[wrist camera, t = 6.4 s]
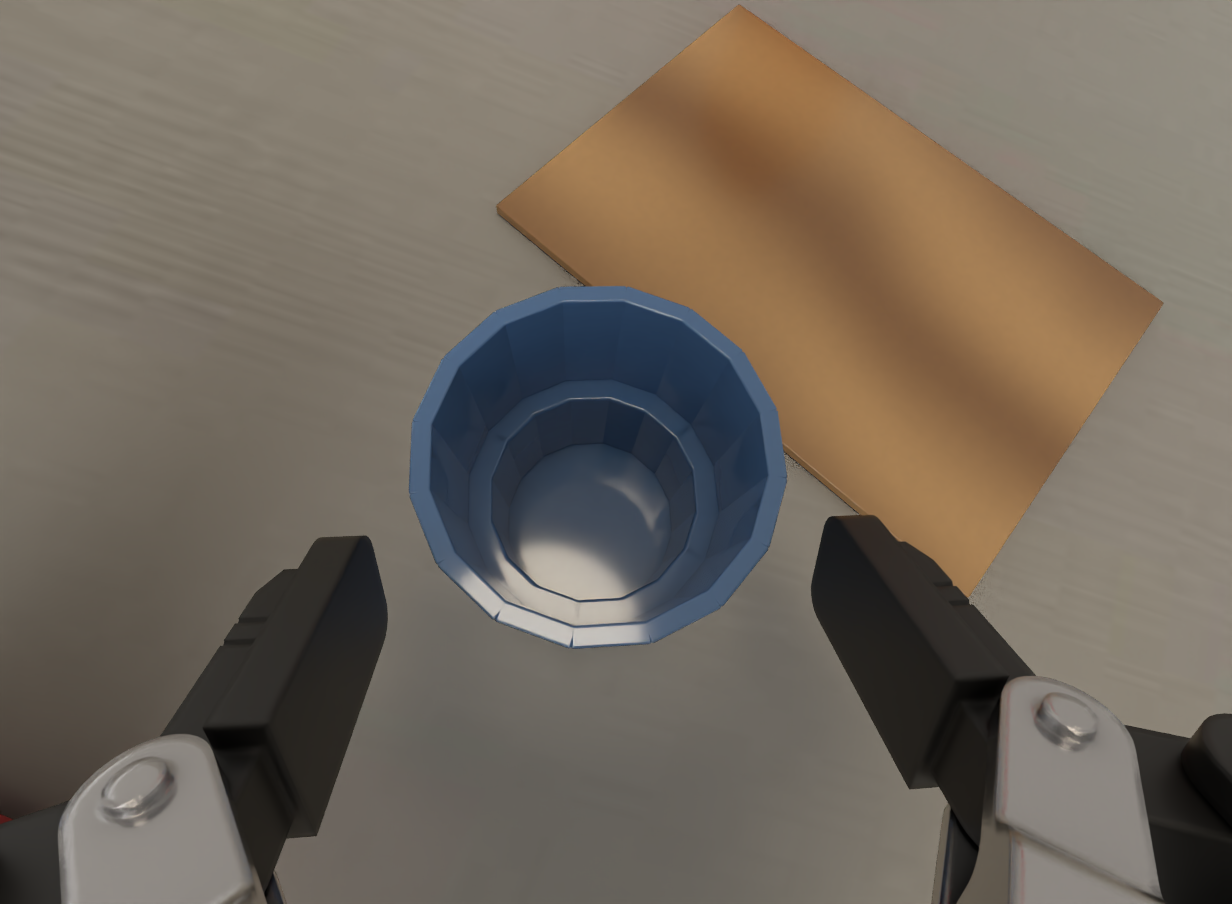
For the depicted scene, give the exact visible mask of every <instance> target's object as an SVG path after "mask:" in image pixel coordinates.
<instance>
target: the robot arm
mask: <svg viewBox="0 0 1232 904" xmlns="http://www.w3.org/2000/svg"><path fill="white" fill-rule="evenodd" d="M811 596H812V603H813V607H814V611H815V613H816V616H817V618H818V620H819V622H820V624H821V626H822V627H823V629H824V631H825V633H826V635H827V637H828V639H829V641H830V642H831V644H832V646H833V648H834V650H835V652H836V654H837V655H838V657H839V659H840V661H841V663H842V665H843V667H844V669H845V670H846V672H847V674H848V676H849V678H850V680H851V682H852V683H853V685H854V687H855V689H856V691H857V693H858V695H859V697H860V698H861V700H862V702H863V704H864V706H865V708H866V710H867V712H868V713H869V715H870V717H871V719H872V721H873V723H874V725H875V726H876V728H877V730H878V732H879V734H880V736H881V738H882V740H883V741H884V743H885V745H886V747H887V749H888V751H889V753H890V754H891V756H892V758H893V760H894V762H895V764H896V766H897V768H898V769H899V771H900V773H901V775H902V777H903V779H904V781H905V782H906V784H907V786H908V788H909V789H920V788H932V787H939V788H940V789H941V791H942V793H943V794H944V796H945V798H946V800H947V801H948V803H947V806H946V808H945V810H944V813H943V817H942V824H941V831H940V839H939V847H938V854H937V862H936V870H935V877H934V885H933V893H932V900H931V904H1232V714H1216V715H1213V716H1210V717H1208V718H1207V719H1206V720H1204V722H1203V723H1202V724H1201V726H1200V727H1199V728H1198V730H1197V731H1196V732H1195V733H1194V735H1193V736H1192V737H1191V738H1186V737H1181V736H1176V735H1171V734H1166V733H1161V732H1157V731H1152V730H1147V729H1142V728H1137V727H1132V726H1127V725H1123V723H1122V722H1121V721H1120V720H1119V719H1118V718H1117V717H1116V716H1115V715H1114V714H1113V713H1112V712H1111V711H1110V710H1109V709H1108V708H1106V707H1105V706H1104V705H1103V704H1101V703H1100V702H1099V701H1097V700H1096V699H1094V698H1093V697H1091V696H1090V695H1088V694H1086V693H1085V692H1083V691H1081V690H1079V689H1077V688H1075V687H1073V686H1071V685H1068V684H1066V683H1064V682H1061V681H1057V680H1054V679H1051V678H1046V677H1040V676H1036V675H1035V674H1034V673H1033V672H1032V671H1031V669H1030V668H1029V667H1028V666H1027V665H1026V664H1025V663H1024V662H1023V660H1022V659H1021V658H1020V657H1019V656H1018V655H1017V654H1016V652H1015V651H1014V650H1013V649H1012V648H1011V647H1010V646H1009V645H1008V643H1007V642H1006V641H1005V640H1004V639H1003V638H1002V637H1001V635H1000V634H999V633H998V632H997V631H996V630H995V629H994V628H993V626H992V625H991V624H990V623H989V622H988V621H987V620H986V619H985V617H984V616H983V615H982V614H981V613H980V612H979V611H978V609H977V608H976V607H975V606H974V605H970V604H969V599H968V598H967V597H966V596H965V595H964V594H963V592H962V591H961V590H960V589H959V588H958V587H957V586H953V581H952V580H951V579H950V578H949V577H948V575H947V574H946V573H945V572H944V571H943V570H942V569H941V568H940V566H939V565H938V564H937V563H936V562H935V561H934V560H933V559H932V558H930V557H929V556H927V555H926V554H924V553H923V552H921V551H920V550H918V549H917V548H915V547H914V546H912V545H911V544H909V543H907V542H906V541H902V542H898V541H897V540H896V538H895V537H894V536H893V535H892V534H891V532H890V531H889V530H888V529H887V528H886V526H885V525H884V524H883V523H882V522H881V520H880V519H879V518H878V517H876V516H875V515H852V516H832V517H829V518H828V519H827V521H826V523H825V525H824V529H823V533H822V538H821V542H820V547H819V551H818V556H817V560H816V565H815V569H814V574H813V578H812V584H811ZM387 621H388V612H387V603H386V599H385V595H384V591H383V586H382V582H381V578H380V574H379V570H378V566H377V562H376V558H375V553H374V549H373V546H372V543H371V540H370V539H369V537H367V536H343V537H321V538H318V539H317V540H316V541H315V542H314V543H313V545H312V546H311V548H310V550H309V551H308V553H307V555H306V556H305V558H304V560H303V561H302V563H301V565H300V566H299V568H298V569H287V570H283V571H282V572H280V573H279V574H278V575H277V576H275V577H274V578H273V579H272V580H270V581H269V582H268V583H267V584H266V585H264V586H263V587H262V588H261V589H259V590H258V591H257V592H256V593H255V594H254V596H253V597H252V599H251V600H250V602H249V603H248V605H247V606H246V608H245V609H244V611H243V612H242V614H241V615H240V617H239V622H238V623H236V624H234V626H233V627H232V629H231V630H230V632H229V633H228V635H227V636H226V638H225V639H224V645H223V646H220V647H219V648H218V650H217V651H216V653H215V654H214V656H213V657H212V659H211V660H210V662H209V663H208V665H207V666H206V668H205V670H204V671H203V673H202V674H201V676H200V677H199V679H198V680H197V682H196V683H195V685H194V686H193V688H192V689H191V691H190V692H189V694H188V695H187V697H186V698H185V700H184V701H183V703H182V704H181V706H180V707H179V709H178V710H177V712H176V713H175V715H174V716H173V718H172V719H171V721H170V722H169V724H168V725H167V727H166V728H165V730H164V731H163V733H162V734H161V735H160V737H158V738H154V739H152V740H149V741H146V742H143V743H141V744H139V745H137V746H134V747H132V748H130V749H129V750H127V751H125V752H123V753H121V754H120V755H118V756H117V757H115V758H114V759H112V760H111V761H109V762H108V763H106V764H105V765H104V766H102V767H101V768H100V769H99V770H97V771H96V772H95V773H94V774H93V775H92V776H91V777H90V778H89V779H88V780H87V781H86V782H85V783H84V784H83V785H82V786H81V787H80V788H79V789H78V791H77V792H76V793H75V794H74V796H73V797H72V798H71V800H70V801H67V802H64V803H62V804H59V805H56V806H53V807H50V808H47V809H44V810H41V811H38V812H35V813H32V814H29V815H26V816H23V817H20V818H17V819H14V820H11V821H8V822H5V823H2V824H0V904H287V902H286V899H285V896H284V893H283V890H282V887H281V885H280V882H279V879H278V876H277V874H276V872H275V870H274V868H275V866H276V863H277V861H278V858H279V856H280V853H281V850H282V848H283V845H284V843H285V840H286V839H287V838H299V837H311V836H317V833H318V831H319V828H320V825H321V822H322V819H323V816H324V813H325V810H326V807H327V805H328V802H329V799H330V796H331V793H332V790H333V787H334V784H335V782H336V779H337V776H338V773H339V770H340V767H341V764H342V761H343V758H344V756H345V753H346V750H347V747H348V744H349V741H350V738H351V735H352V733H353V730H354V727H355V724H356V721H357V718H358V715H359V712H360V710H361V707H362V704H363V701H364V698H365V695H366V692H367V689H368V686H369V684H370V681H371V678H372V675H373V672H374V669H375V666H376V663H377V661H378V658H379V655H380V652H381V649H382V646H383V643H384V640H385V636H386V631H387Z"/></svg>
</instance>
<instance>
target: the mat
mask: <svg viewBox="0 0 1232 904" xmlns="http://www.w3.org/2000/svg"><path fill="white" fill-rule="evenodd" d="M496 208H497V213H498V214H499V215H501V216H502V217H503V218H504V219H505V220H507V221H508V222H509V223H510V224H511V225H513V226H514V227H515V228H516V229H517V230H519V231H520V232H521V233H522V234H523V235H525V236H526V237H527V238H528V239H530V240H531V241H532V242H533V243H534V244H536V245H537V246H538V247H539V248H540V249H542V250H543V251H544V252H545V253H546V254H548V255H549V256H550V257H551V258H552V259H554V260H555V261H556V262H557V263H558V264H560V265H561V266H562V267H563V268H564V269H566V270H567V271H568V272H569V273H570V274H572V275H573V276H574V277H575V278H576V279H578V280H579V281H580V282H581V283H582V284H584V285H585V286H626V287H631V288H634V289H637V290H640V291H643V292H646V293H649V294H652V295H655V296H658V297H660V298H663V299H666V300H669V301H672V302H675V303H678V304H681V305H684V306H687V307H689V308H690V309H693V310H694V311H695V312H696V313H698V314H699V315H700V316H701V317H702V318H704V319H705V320H706V321H707V322H709V323H710V324H711V325H712V326H714V327H715V328H716V329H717V330H718V331H720V332H721V333H722V334H723V335H725V336H726V337H727V338H728V339H730V340H731V341H732V342H733V343H735V344H736V345H737V346H738V347H739V348H741V349H742V352H744V353H745V354H746V356H747V358H748V360H749V361H750V363H751V365H752V366H753V368H754V370H755V372H756V373H757V375H758V377H759V378H760V380H761V382H762V384H763V385H764V387H765V389H766V391H767V392H768V394H769V396H770V397H771V399H772V401H773V403H774V404H775V406H776V408H777V411H778V416H779V423H780V430H781V437H782V444H783V451H785V452H786V453H787V454H788V455H789V456H791V457H792V458H793V459H794V460H795V461H797V462H798V463H799V464H800V465H801V466H803V467H804V468H805V469H806V470H808V471H809V472H810V473H811V474H812V475H814V476H815V477H816V478H817V479H818V480H820V481H821V482H822V483H823V484H824V485H826V486H827V487H828V488H829V489H830V490H832V491H833V492H834V493H835V494H836V495H838V496H839V497H840V498H841V499H842V500H844V501H845V502H846V503H847V504H848V505H850V506H851V507H852V508H853V509H854V510H856V511H857V512H858V513H859V514H860V515H875V516H876V517H878V518H879V519H880V520H881V522H882V523H883V524H884V525H885V526H886V528H887V529H888V530H889V531H890V532H891V534H892V535H893V536H894V537H895V538H896V540H897V541H898V542H902V541H906V542H907V543H909V544H911V545H912V546H914V547H915V548H917V549H918V550H920V551H921V552H923V553H924V554H926V555H927V556H929V557H930V558H932V559H933V560H934V561H935V562H936V563H937V564H938V565H939V566H940V568H941V569H942V570H943V571H944V572H945V573H946V574H947V575H948V577H949V578H950V579H951V580H952V581H953V586H957V587H958V588H959V589H960V590H961V591H962V592H963V594H964V595H965V596H966V597H969V596H970V594H971V593H972V591H973V590H974V588H975V587H976V585H977V584H978V582H979V581H980V579H981V578H982V576H983V575H984V573H985V572H986V570H987V569H988V567H989V566H990V564H991V563H992V561H993V560H994V558H995V557H996V555H997V554H998V552H999V551H1000V549H1001V548H1002V546H1003V545H1004V543H1005V542H1006V540H1007V539H1008V537H1009V536H1010V534H1011V533H1012V531H1013V530H1014V528H1015V527H1016V525H1017V524H1018V522H1019V521H1020V519H1021V518H1022V516H1023V515H1024V513H1025V512H1026V510H1027V509H1028V507H1029V506H1030V504H1031V503H1032V501H1033V499H1034V498H1035V496H1036V495H1037V493H1038V492H1039V490H1040V489H1041V487H1042V486H1043V484H1044V483H1045V481H1046V480H1047V478H1048V477H1049V475H1050V474H1051V472H1052V471H1053V469H1054V468H1055V466H1056V465H1057V463H1058V462H1059V460H1060V459H1061V457H1062V456H1063V454H1064V453H1065V451H1066V450H1067V448H1068V447H1069V445H1070V444H1071V442H1072V441H1073V439H1074V438H1075V436H1076V435H1077V433H1078V432H1079V430H1080V429H1081V427H1082V426H1083V424H1084V423H1085V421H1086V420H1087V418H1088V417H1089V415H1090V414H1091V412H1092V411H1093V409H1094V408H1095V406H1096V405H1097V403H1098V401H1099V400H1100V398H1101V397H1102V395H1103V394H1104V392H1105V391H1106V389H1107V388H1108V386H1109V385H1110V383H1111V382H1112V380H1113V379H1114V377H1115V376H1116V374H1117V373H1118V371H1119V370H1120V368H1121V367H1122V365H1123V364H1124V362H1125V361H1126V359H1127V358H1128V356H1129V355H1130V353H1131V352H1132V350H1133V349H1134V347H1135V346H1136V344H1137V343H1138V341H1139V340H1140V338H1141V337H1142V335H1143V334H1144V332H1145V331H1146V329H1147V328H1148V326H1149V325H1150V323H1151V322H1152V320H1153V319H1154V317H1155V316H1156V314H1157V313H1158V311H1159V310H1160V308H1161V306H1162V305H1163V302H1162V301H1161V300H1159V299H1158V298H1156V297H1155V296H1154V295H1152V294H1151V293H1149V292H1148V291H1146V290H1145V289H1144V288H1142V287H1141V286H1139V285H1138V284H1136V283H1135V282H1134V281H1132V280H1131V279H1129V278H1128V277H1126V276H1125V275H1124V274H1122V273H1121V272H1119V271H1118V270H1117V269H1115V268H1114V267H1112V266H1111V265H1109V264H1108V263H1107V262H1105V261H1104V260H1102V259H1101V258H1099V257H1098V256H1097V255H1095V254H1094V253H1092V252H1091V251H1089V250H1088V249H1087V248H1085V247H1084V246H1082V245H1081V244H1080V243H1078V242H1077V241H1075V240H1074V239H1072V238H1071V237H1070V236H1068V235H1067V234H1065V233H1064V232H1062V231H1061V230H1060V229H1058V228H1057V227H1055V226H1054V225H1052V224H1051V223H1050V222H1048V221H1047V220H1045V219H1044V218H1043V217H1041V216H1040V215H1038V214H1037V213H1035V212H1034V211H1033V210H1031V209H1030V208H1028V207H1027V206H1025V205H1024V204H1023V203H1021V202H1020V201H1018V200H1017V199H1015V198H1014V197H1013V196H1011V195H1010V194H1008V193H1007V192H1006V191H1004V190H1003V189H1001V188H1000V187H998V186H997V185H996V184H994V183H993V182H991V181H990V180H988V179H987V178H986V177H984V176H983V175H981V174H980V173H978V172H977V171H976V170H974V169H973V168H971V167H970V166H969V165H967V164H966V163H964V162H963V161H961V160H960V159H959V158H957V157H956V156H954V155H953V154H951V153H950V152H949V151H947V150H946V149H944V148H943V147H941V146H940V145H939V144H937V143H936V142H934V141H933V140H932V139H930V138H929V137H927V136H926V135H924V134H923V133H922V132H920V131H919V130H917V129H916V128H914V127H913V126H912V125H910V124H909V123H907V122H906V121H904V120H903V119H902V118H900V117H899V116H897V115H896V114H895V113H893V112H892V111H890V110H889V109H887V108H886V107H885V106H883V105H882V104H880V103H879V102H877V101H876V100H875V99H873V98H872V97H870V96H869V95H867V94H866V93H865V92H863V91H862V90H860V89H859V88H858V87H856V86H855V85H853V84H852V83H850V82H849V81H848V80H846V79H845V78H843V77H842V76H840V75H839V74H838V73H836V72H835V71H833V70H832V69H830V68H829V67H828V66H826V65H825V64H823V63H822V62H821V61H819V60H818V59H816V58H815V57H813V56H812V55H811V54H809V53H808V52H806V51H805V50H803V49H802V48H801V47H799V46H798V45H796V44H795V43H793V42H792V41H791V40H789V39H788V38H786V37H785V36H784V35H782V34H781V33H779V32H778V31H776V30H775V29H774V28H772V27H771V26H769V25H768V24H766V23H765V22H764V21H762V20H761V19H759V18H758V17H756V16H755V15H754V14H752V13H751V12H749V11H748V10H747V9H745V8H744V7H742V6H741V5H737V6H736V7H735V8H734V9H733V10H731V11H730V12H729V13H728V14H727V15H725V16H724V17H723V18H722V19H721V20H719V21H718V22H717V23H716V24H714V25H713V26H712V27H711V28H710V29H708V30H707V31H706V32H705V33H704V34H702V35H701V36H700V37H699V38H698V39H696V40H695V41H694V42H693V43H692V44H690V45H689V46H688V47H687V48H686V49H684V50H683V51H682V52H681V53H680V54H678V55H677V56H676V57H675V58H673V59H672V60H671V61H670V62H669V63H667V64H666V65H665V66H664V67H663V68H661V69H660V70H659V71H658V72H657V73H655V74H654V75H653V76H652V77H651V78H649V79H648V80H647V81H646V82H645V83H643V84H642V85H641V86H640V87H639V88H637V89H636V90H635V91H634V92H632V93H631V94H630V95H629V96H628V97H626V98H625V99H624V100H623V101H622V102H620V103H619V104H618V105H617V106H616V107H614V108H613V109H612V110H611V111H610V112H608V113H607V114H606V115H605V116H604V117H602V118H601V119H600V120H599V121H598V122H596V123H595V124H594V125H593V126H591V127H590V128H589V129H588V130H587V131H585V132H584V133H583V134H582V135H581V136H579V137H578V138H577V139H576V140H575V141H573V142H572V143H571V144H570V145H569V146H567V147H566V148H565V149H564V150H563V151H561V152H560V153H559V154H558V155H557V156H555V157H554V158H553V159H552V160H550V161H549V162H548V163H547V164H546V165H544V166H543V167H542V168H541V169H540V170H538V171H537V172H536V173H535V174H534V175H532V176H531V177H530V178H529V179H528V180H526V181H525V182H524V183H523V184H522V185H520V186H519V187H518V188H517V189H516V190H514V191H513V192H512V193H511V194H509V195H508V196H507V197H506V198H505V199H503V200H502V201H501V202H500V203H499V204H497V205H496Z"/></svg>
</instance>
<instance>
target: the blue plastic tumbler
mask: <svg viewBox="0 0 1232 904" xmlns="http://www.w3.org/2000/svg"><path fill="white" fill-rule="evenodd" d="M786 483H787V472H786V465H785V458H784V451H783V444H782V437H781V430H780V423H779V416H778V411H777V408H776V406H775V404H774V403H773V401H772V399H771V397H770V396H769V394H768V392H767V391H766V389H765V387H764V385H763V384H762V382H761V380H760V378H759V377H758V375H757V373H756V372H755V370H754V368H753V366H752V365H751V363H750V361H749V360H748V358H747V356H746V354H745V353H744V352H742V349H741V348H739V347H738V346H737V345H736V344H735V343H733V342H732V341H731V340H730V339H728V338H727V337H726V336H725V335H723V334H722V333H721V332H720V331H718V330H717V329H716V328H715V327H714V326H712V325H711V324H710V323H709V322H707V321H706V320H705V319H704V318H702V317H701V316H700V315H699V314H698V313H696V312H695V311H694V310H693V309H690V308H689V307H687V306H684V305H681V304H678V303H675V302H672V301H669V300H666V299H663V298H660V297H658V296H655V295H652V294H649V293H646V292H643V291H640V290H637V289H634V288H631V287H626V286H578V287H559V288H558V287H557V288H554V289H551V290H549V291H546V292H543V293H541V294H538V295H536V296H533V297H530V298H528V299H525V300H522V301H520V302H517V303H514V304H512V305H509V306H507V307H504V308H501V309H499V310H496V312H493V313H492V314H491V315H490V316H489V317H487V318H486V319H485V320H484V321H483V322H482V323H481V324H480V325H479V326H477V327H476V328H475V329H474V330H473V331H472V332H471V333H470V334H468V335H467V336H466V337H465V338H464V339H463V340H462V341H461V342H459V343H458V344H457V345H456V346H455V347H454V348H453V349H452V350H451V351H449V352H448V353H447V354H446V355H445V356H444V358H443V359H442V360H441V362H440V364H439V367H438V369H437V371H436V373H435V375H434V377H433V379H432V381H431V383H430V385H429V387H428V389H427V391H426V393H425V395H424V397H423V399H422V401H421V403H420V406H419V408H418V410H417V412H416V414H415V416H414V418H413V422H412V430H411V453H410V475H409V494H410V499H411V502H412V504H413V507H414V509H415V512H416V514H417V517H418V519H419V522H420V524H421V527H422V529H423V532H424V535H425V537H426V540H427V542H428V545H429V547H430V550H431V552H432V555H433V557H434V560H435V562H436V564H437V565H438V567H439V568H440V569H441V570H442V571H443V572H444V573H445V574H446V575H447V576H448V577H449V578H450V579H451V580H452V581H453V582H454V583H455V584H456V585H457V586H458V587H459V588H460V589H462V590H463V591H464V592H465V593H466V594H467V595H468V596H469V597H470V598H471V599H472V600H473V601H474V602H475V603H476V604H477V605H478V606H479V607H480V608H481V609H482V610H483V611H484V612H485V613H486V614H487V615H488V616H489V617H490V618H491V619H493V620H495V621H496V622H498V623H501V624H503V625H506V626H509V627H512V628H514V629H517V630H520V631H523V632H525V633H528V634H531V635H533V636H536V637H539V638H542V639H544V640H547V641H550V642H553V643H555V644H558V645H561V646H563V647H566V648H572V649H580V648H596V647H612V646H628V645H644V644H650V643H655V642H657V641H659V640H661V639H662V638H664V637H666V636H668V635H670V634H672V633H674V632H676V631H678V630H680V629H682V628H684V627H686V626H688V625H689V624H691V623H693V622H695V621H697V620H699V619H701V618H703V617H705V616H707V615H709V614H711V613H713V612H715V611H716V610H718V609H720V608H721V607H722V606H724V604H725V603H726V602H727V601H728V599H729V598H730V597H731V596H732V594H733V593H734V592H735V591H736V589H737V588H738V587H739V586H740V584H741V583H742V582H743V581H744V579H745V578H746V577H747V576H748V574H749V573H750V572H751V571H752V569H753V568H754V567H755V566H756V564H757V563H758V562H759V561H760V559H761V558H762V557H763V556H764V554H765V553H766V552H767V551H768V548H769V547H770V543H771V540H772V536H773V532H774V528H775V525H776V521H777V517H778V513H779V509H780V506H781V502H782V498H783V494H784V491H785V487H786Z"/></svg>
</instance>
